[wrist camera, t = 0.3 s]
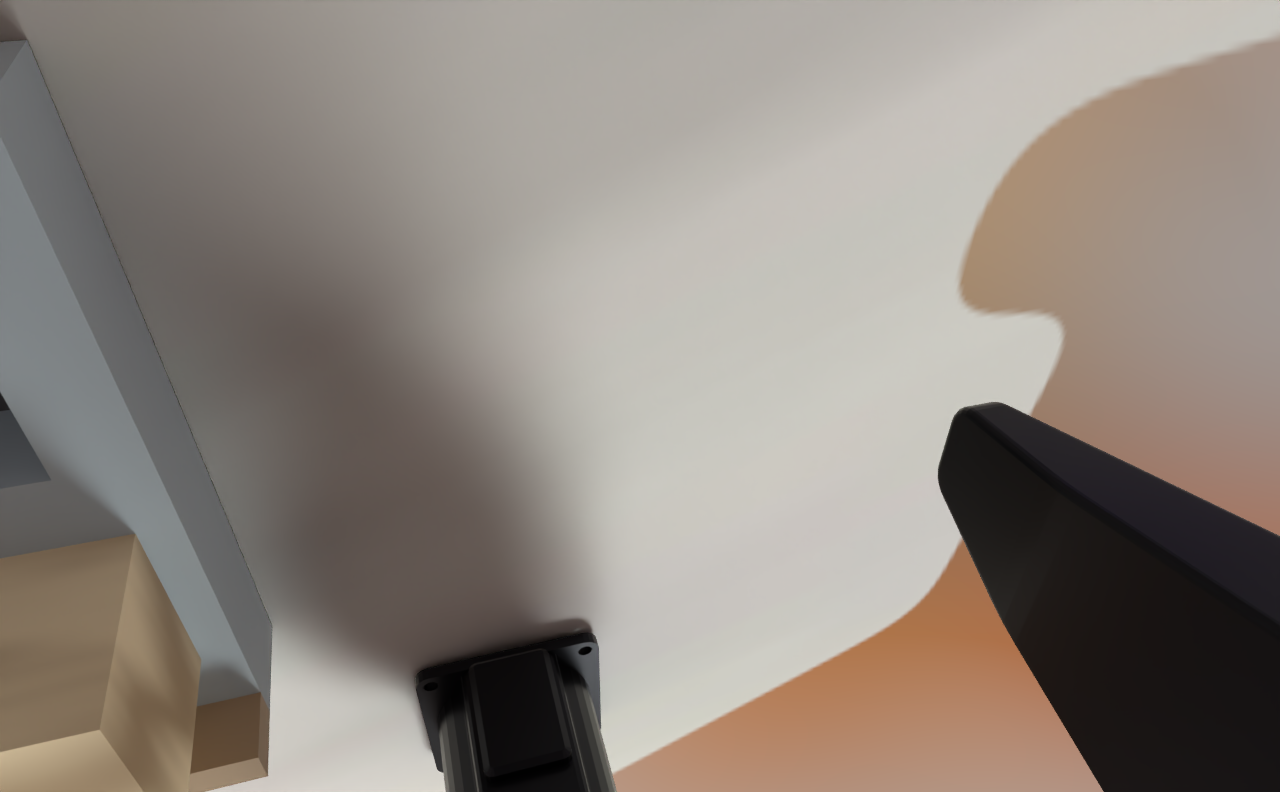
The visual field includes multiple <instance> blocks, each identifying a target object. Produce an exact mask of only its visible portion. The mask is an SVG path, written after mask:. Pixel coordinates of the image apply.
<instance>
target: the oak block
mask: <svg viewBox="0 0 1280 792" xmlns="http://www.w3.org/2000/svg"><path fill="white" fill-rule="evenodd" d="M200 668H201V658H200V656H199V654H198V652H197V650H196V648H195V646H194V645H193V643H192V641H191V639H190V637H189V635H188V633H187V631H186V629H185V627H184V625H183V623H182V622H181V620H180V618H179V616H178V614H177V612H176V610H175V608H174V606H173V604H172V602H171V601H170V599H169V597H168V595H167V593H166V591H165V589H164V587H163V585H162V583H161V581H160V580H159V578H158V576H157V574H156V572H155V570H154V568H153V566H152V564H151V562H150V560H149V559H148V557H147V555H146V553H145V551H144V549H143V547H142V545H141V543H140V541H139V539H138V537H137V536H136V534H131V535H125V536H120V537H114V538H109V539H104V540H98V541H93V542H87V543H82V544H76V545H71V546H65V547H60V548H55V549H49V550H44V551H38V552H33V553H27V554H22V555H17V556H11V557H6V558H0V792H188V790H189V780H190V770H191V760H192V750H193V739H194V729H195V719H196V709H197V698H198V688H199V678H200Z"/></svg>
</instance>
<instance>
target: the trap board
mask: <svg viewBox="0 0 1280 792" xmlns="http://www.w3.org/2000/svg"><path fill="white" fill-rule="evenodd" d="M131 534H136V536H137V537H138V539H139V541H140V543H141V545H142V547H143V549H144V551H145V553H146V555H147V557H148V559H149V560H150V562H151V564H152V566H153V568H154V570H155V572H156V574H157V576H158V578H159V580H160V581H161V583H162V585H163V587H164V589H165V591H166V593H167V595H168V597H169V599H170V601H171V602H172V604H173V606H174V608H175V610H176V612H177V614H178V616H179V618H180V620H181V622H182V623H183V625H184V627H185V629H186V631H187V633H188V635H189V637H190V639H191V641H192V643H193V645H194V646H195V648H196V650H197V652H198V654H199V656H200V658H201V668H200V678H199V688H198V698H197V709H196V719H195V729H194V739H193V750H192V760H191V770H190V780H189V790H188V792H205V791H209V790H213V789H217V788H221V787H225V786H230V785H234V784H238V783H242V782H246V781H250V780H254V779H258V778H262V777H266V776H268V751H269V718H270V685H271V652H272V625H271V622H270V620H269V618H268V615H267V613H266V610H265V608H264V606H263V603H262V601H261V599H260V596H259V594H258V591H257V589H256V587H255V584H254V582H253V579H252V577H251V575H250V572H249V570H248V567H247V565H246V563H245V560H244V558H243V555H242V553H241V551H240V548H239V546H238V543H237V541H236V539H235V536H234V534H233V531H232V529H231V527H230V524H229V522H228V520H227V517H226V515H225V512H224V510H223V508H222V505H221V503H220V500H219V498H218V496H217V493H216V491H215V488H214V486H213V484H212V481H211V479H210V476H209V474H208V472H207V469H206V467H205V464H204V462H203V460H202V457H201V455H200V453H199V450H198V448H197V445H196V443H195V441H194V438H193V436H192V433H191V431H190V429H189V426H188V424H187V421H186V419H185V417H184V414H183V412H182V409H181V407H180V405H179V402H178V400H177V397H176V395H175V393H174V390H173V388H172V386H171V383H170V381H169V378H168V376H167V374H166V371H165V369H164V366H163V364H162V362H161V359H160V357H159V354H158V352H157V350H156V347H155V345H154V342H153V340H152V338H151V335H150V333H149V330H148V328H147V326H146V323H145V321H144V319H143V316H142V314H141V311H140V309H139V307H138V304H137V302H136V299H135V297H134V295H133V292H132V290H131V287H130V285H129V283H128V280H127V278H126V275H125V273H124V271H123V268H122V266H121V263H120V261H119V259H118V256H117V254H116V251H115V249H114V247H113V244H112V242H111V240H110V237H109V235H108V232H107V230H106V228H105V225H104V223H103V220H102V218H101V216H100V213H99V211H98V208H97V206H96V204H95V201H94V199H93V196H92V194H91V192H90V189H89V187H88V184H87V182H86V180H85V177H84V175H83V173H82V170H81V168H80V165H79V163H78V161H77V158H76V156H75V153H74V151H73V149H72V146H71V144H70V141H69V139H68V137H67V134H66V132H65V129H64V127H63V125H62V122H61V120H60V117H59V115H58V113H57V110H56V108H55V106H54V103H53V101H52V98H51V96H50V94H49V91H48V89H47V86H46V84H45V82H44V79H43V77H42V74H41V72H40V70H39V67H38V65H37V62H36V60H35V58H34V55H33V53H32V50H31V48H30V46H29V43H28V41H27V40H20V41H6V42H0V558H6V557H11V556H17V555H22V554H27V553H33V552H38V551H44V550H49V549H55V548H60V547H65V546H71V545H76V544H82V543H87V542H93V541H98V540H104V539H109V538H114V537H120V536H125V535H131Z"/></svg>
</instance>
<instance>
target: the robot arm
mask: <svg viewBox="0 0 1280 792" xmlns="http://www.w3.org/2000/svg"><path fill="white" fill-rule="evenodd" d="M938 482H939V486H940V490H941V492H942V495H943V497H944V499H945V501H946V504H947V506H948V508H949V510H950V512H951V514H952V516H953V519H954V521H955V523H956V525H957V527H958V529H959V532H960V534H961V536H962V538H963V540H964V542H965V544H966V547H967V549H968V551H969V553H970V555H971V557H972V559H973V561H974V564H975V566H976V568H977V570H978V572H979V574H980V577H981V579H982V581H983V583H984V585H985V587H986V589H987V592H988V594H989V596H990V598H991V600H992V602H993V604H994V606H995V608H996V610H997V612H998V614H999V616H1000V618H1001V620H1002V622H1003V624H1004V625H1005V627H1006V629H1007V631H1008V633H1009V634H1010V636H1011V638H1012V639H1013V641H1014V643H1015V645H1016V646H1017V648H1018V650H1019V651H1020V653H1021V655H1022V656H1023V658H1024V660H1025V661H1026V663H1027V665H1028V666H1029V668H1030V670H1031V671H1032V673H1033V675H1034V676H1035V678H1036V680H1037V681H1038V683H1039V685H1040V686H1041V688H1042V690H1043V691H1044V693H1045V695H1046V696H1047V698H1048V700H1049V701H1050V703H1051V705H1052V706H1053V708H1054V710H1055V711H1056V713H1057V714H1058V716H1059V718H1060V719H1061V721H1062V723H1063V725H1064V726H1065V728H1066V730H1067V731H1068V733H1069V735H1070V736H1071V738H1072V739H1073V741H1074V743H1075V745H1076V746H1077V748H1078V750H1079V751H1080V753H1081V755H1082V756H1083V758H1084V760H1085V761H1086V763H1087V765H1088V766H1089V768H1090V770H1091V771H1092V773H1093V775H1094V776H1095V778H1096V780H1097V781H1098V783H1099V785H1100V786H1101V788H1102V790H1103V791H1104V792H1280V536H1278V535H1277V534H1274V533H1272V532H1270V531H1268V530H1266V529H1264V528H1262V527H1260V526H1258V525H1256V524H1254V523H1251V522H1250V521H1247V520H1245V519H1243V518H1241V517H1239V516H1237V515H1235V514H1233V513H1231V512H1229V511H1227V510H1224V509H1222V508H1220V507H1218V506H1216V505H1214V504H1212V503H1210V502H1208V501H1206V500H1203V499H1202V498H1199V497H1197V496H1195V495H1193V494H1191V493H1189V492H1187V491H1185V490H1183V489H1181V488H1179V487H1176V486H1174V485H1172V484H1170V483H1168V482H1166V481H1164V480H1162V479H1160V478H1158V477H1155V476H1154V475H1152V474H1150V473H1148V472H1145V471H1143V470H1141V469H1139V468H1137V467H1135V466H1133V465H1131V464H1129V463H1127V462H1125V461H1123V460H1120V459H1118V458H1116V457H1114V456H1112V455H1110V454H1108V453H1106V452H1104V451H1102V450H1100V449H1098V448H1095V447H1093V446H1091V445H1089V444H1087V443H1085V442H1083V441H1081V440H1079V439H1077V438H1075V437H1073V436H1070V435H1068V434H1066V433H1064V432H1062V431H1060V430H1058V429H1056V428H1054V427H1052V426H1049V425H1048V424H1046V423H1043V422H1041V421H1039V420H1037V419H1035V418H1033V417H1031V416H1029V415H1027V414H1025V413H1023V412H1021V411H1018V410H1016V409H1014V408H1012V407H1010V406H1008V405H1006V404H1003V403H999V402H990V403H984V404H979V405H974V406H968V407H964V408H962V409H960V410H959V411H958V412H957V413H956V414H955V415H954V417H953V420H952V423H951V426H950V429H949V433H948V436H947V440H946V443H945V446H944V450H943V453H942V456H941V460H940V463H939V467H938ZM415 684H416V691H417V695H418V699H419V703H420V706H421V710H422V714H423V718H424V721H425V725H426V729H427V733H428V736H429V740H430V744H431V748H432V751H433V755H434V759H435V763H436V767H437V769H438V771H440V772H444V780H445V788H446V792H617V791H616V787H615V784H614V780H613V776H612V772H611V768H610V765H609V761H608V757H607V753H606V750H605V746H604V742H603V738H602V735H601V731H600V729H601V712H600V677H599V647H598V644H597V640H596V637H595V635H593V634H591V633H582V634H578V635H573V636H569V637H565V638H560V639H556V640H551V641H547V642H543V643H538V644H534V645H530V646H525V647H521V648H516V649H512V650H508V651H503V652H499V653H494V654H490V655H486V656H481V657H477V658H473V659H468V660H464V661H459V662H455V663H451V664H446V665H442V666H438V667H433V668H429V669H426V670H423V671H421V672H419V673H418V674H417V675H416V677H415Z"/></svg>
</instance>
